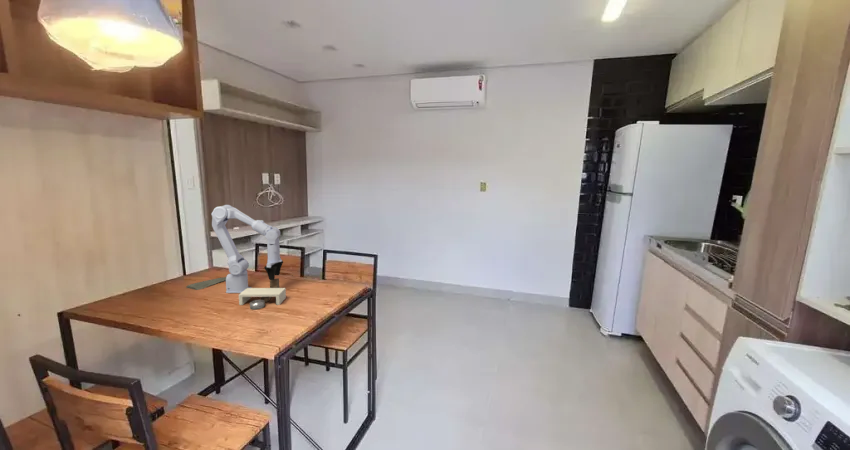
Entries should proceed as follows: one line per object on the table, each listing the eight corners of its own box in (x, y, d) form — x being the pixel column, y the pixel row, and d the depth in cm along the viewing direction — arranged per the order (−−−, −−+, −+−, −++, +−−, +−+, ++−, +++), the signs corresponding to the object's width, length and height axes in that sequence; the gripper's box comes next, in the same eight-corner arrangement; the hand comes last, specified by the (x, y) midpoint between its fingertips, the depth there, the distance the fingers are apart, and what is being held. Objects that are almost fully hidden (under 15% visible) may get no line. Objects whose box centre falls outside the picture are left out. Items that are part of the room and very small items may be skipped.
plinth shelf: (239, 305, 158) (238, 294, 158) (247, 297, 167) (247, 288, 167) (279, 304, 160) (279, 294, 159) (285, 297, 169) (285, 287, 168)
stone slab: (184, 290, 180) (198, 290, 176) (184, 285, 180) (197, 285, 176) (223, 279, 200) (236, 279, 197) (222, 274, 200) (235, 274, 196)
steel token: (247, 310, 154) (247, 304, 153) (253, 304, 160) (253, 299, 159) (261, 310, 154) (261, 304, 154) (266, 304, 160) (266, 299, 160)
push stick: (260, 301, 163) (259, 289, 162) (272, 289, 180) (272, 278, 179) (267, 301, 163) (267, 289, 162) (279, 289, 180) (279, 278, 179)
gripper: (276, 255, 169) (277, 281, 171) (286, 248, 184) (286, 273, 186) (261, 254, 169) (262, 281, 171) (272, 248, 183) (273, 273, 185)
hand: (274, 277), depth 178 cm, fingers open, 7 cm apart
